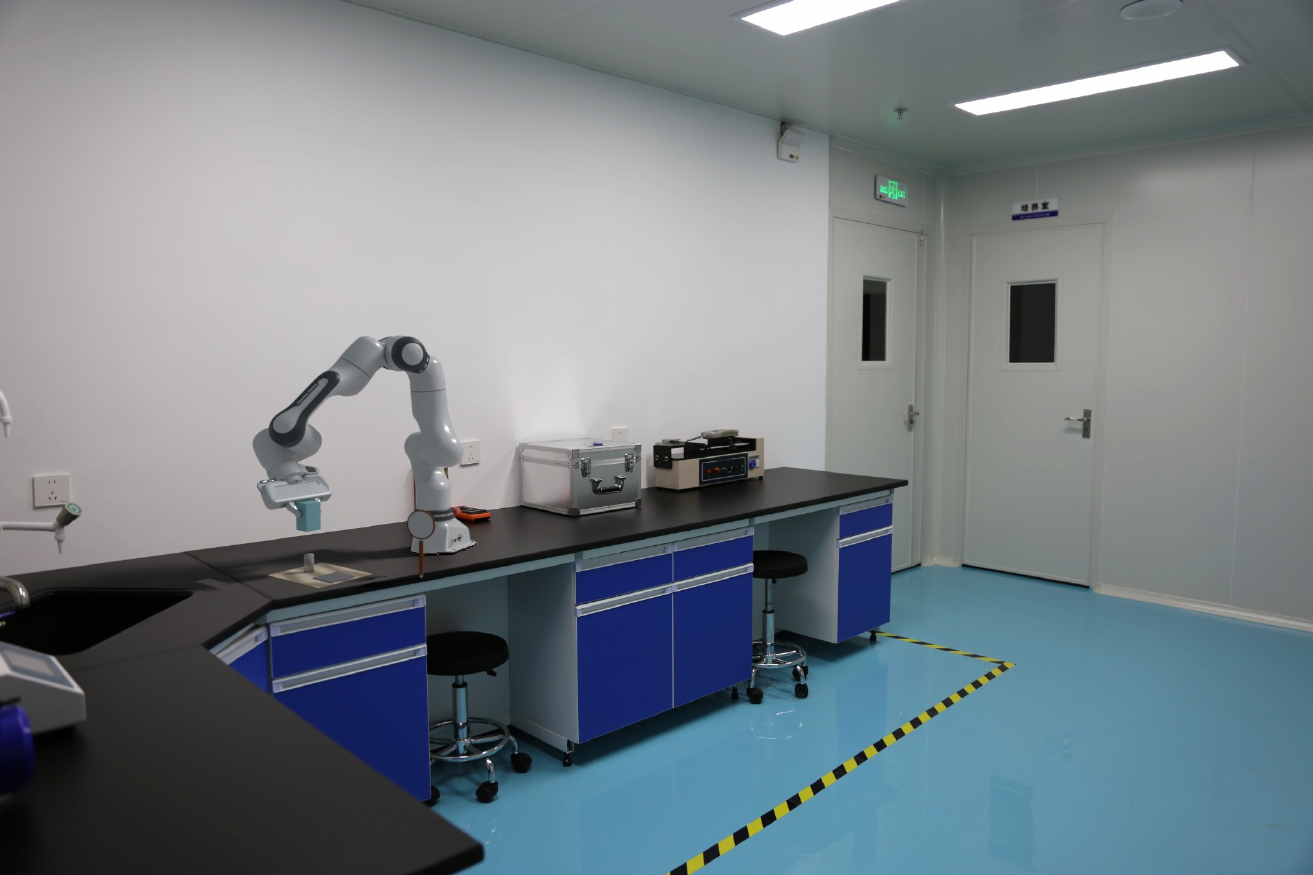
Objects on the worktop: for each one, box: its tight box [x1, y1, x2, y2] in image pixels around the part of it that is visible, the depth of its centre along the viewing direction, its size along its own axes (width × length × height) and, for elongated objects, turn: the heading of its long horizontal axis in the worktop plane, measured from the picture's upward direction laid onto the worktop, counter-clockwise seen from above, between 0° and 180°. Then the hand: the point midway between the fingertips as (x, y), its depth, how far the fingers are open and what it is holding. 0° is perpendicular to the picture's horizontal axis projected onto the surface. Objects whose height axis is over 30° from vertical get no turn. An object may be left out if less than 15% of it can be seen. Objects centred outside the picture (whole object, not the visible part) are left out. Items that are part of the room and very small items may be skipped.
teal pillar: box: [295, 500, 322, 533], centre depth 239 cm, size 5×5×8 cm
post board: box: [268, 553, 372, 589], centre depth 238 cm, size 18×22×6 cm
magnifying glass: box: [406, 510, 435, 579], centre depth 242 cm, size 9×2×20 cm, turn 79°
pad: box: [313, 572, 356, 583], centre depth 235 cm, size 8×8×1 cm
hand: (309, 514), depth 239 cm, fingers closed on teal pillar, 5 cm apart
